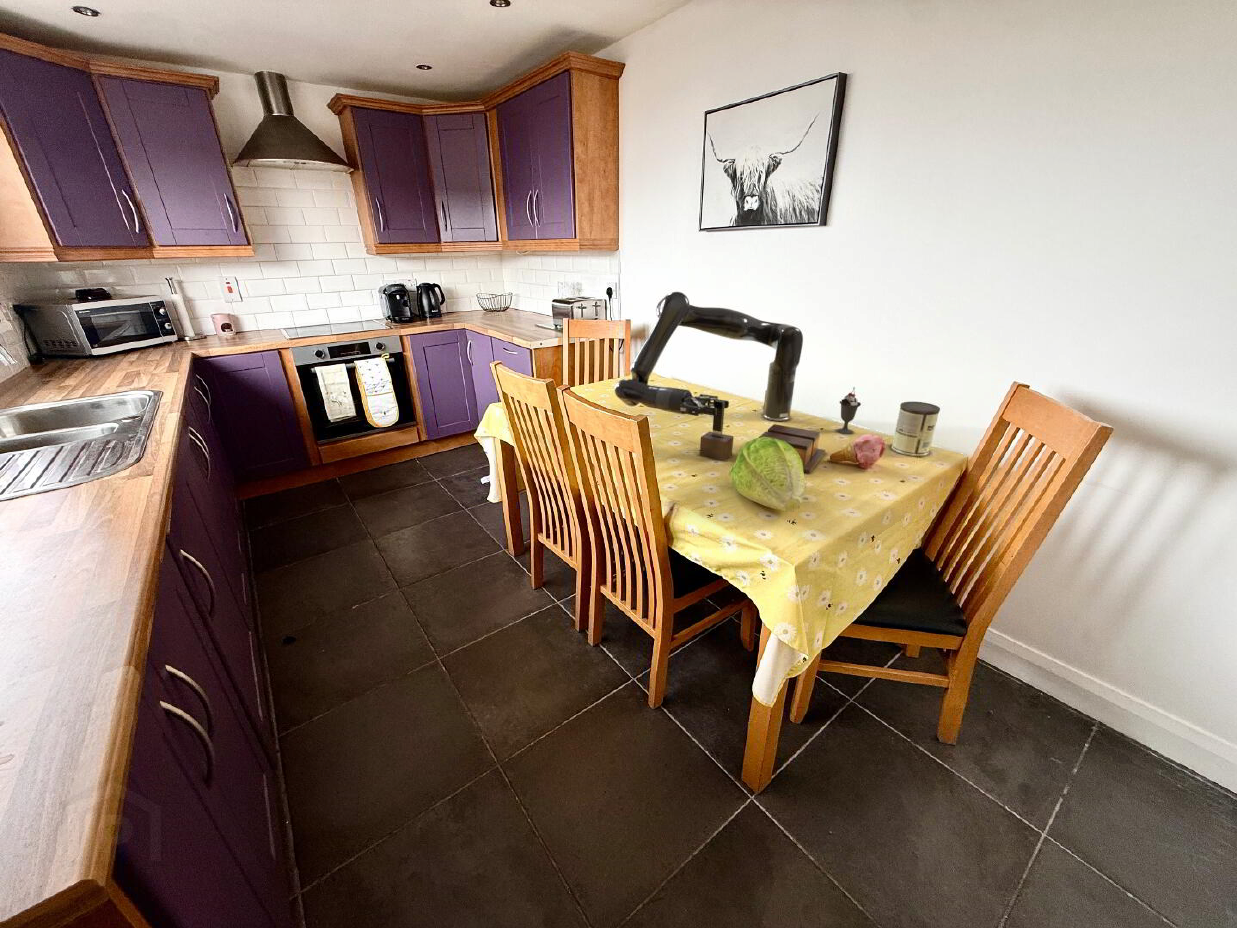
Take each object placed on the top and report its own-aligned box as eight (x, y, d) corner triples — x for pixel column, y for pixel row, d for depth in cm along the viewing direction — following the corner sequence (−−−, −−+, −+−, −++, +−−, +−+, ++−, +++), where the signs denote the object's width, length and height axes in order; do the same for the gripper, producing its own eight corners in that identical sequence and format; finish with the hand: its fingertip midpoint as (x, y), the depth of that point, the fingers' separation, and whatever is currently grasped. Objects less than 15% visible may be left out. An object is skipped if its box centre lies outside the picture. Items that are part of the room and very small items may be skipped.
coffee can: (896, 441, 161) (906, 399, 155) (932, 449, 154) (944, 405, 149) (886, 450, 154) (896, 406, 148) (923, 459, 148) (935, 413, 142)
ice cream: (828, 465, 140) (886, 451, 133) (822, 438, 145) (878, 422, 138) (838, 484, 147) (893, 471, 140) (832, 457, 153) (885, 443, 146)
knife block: (699, 455, 152) (700, 437, 150) (707, 449, 156) (709, 431, 154) (724, 461, 148) (725, 442, 145) (732, 454, 152) (733, 436, 150)
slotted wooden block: (747, 459, 148) (749, 437, 146) (767, 441, 162) (769, 421, 159) (809, 473, 139) (812, 450, 136) (825, 453, 153) (828, 431, 150)
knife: (710, 454, 152) (713, 401, 146) (712, 453, 154) (716, 399, 147) (719, 456, 151) (723, 402, 144) (721, 455, 152) (725, 401, 145)
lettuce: (747, 528, 114) (766, 475, 107) (720, 472, 135) (734, 425, 128) (816, 534, 116) (839, 482, 109) (779, 478, 137) (796, 432, 130)
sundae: (851, 428, 173) (859, 386, 167) (858, 435, 167) (866, 391, 161) (831, 428, 173) (838, 385, 167) (837, 434, 167) (845, 391, 161)
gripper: (662, 393, 147) (713, 401, 139) (684, 383, 158) (733, 390, 150) (661, 417, 150) (711, 427, 142) (683, 406, 161) (731, 414, 153)
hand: (722, 408), depth 146 cm, fingers open, 8 cm apart
